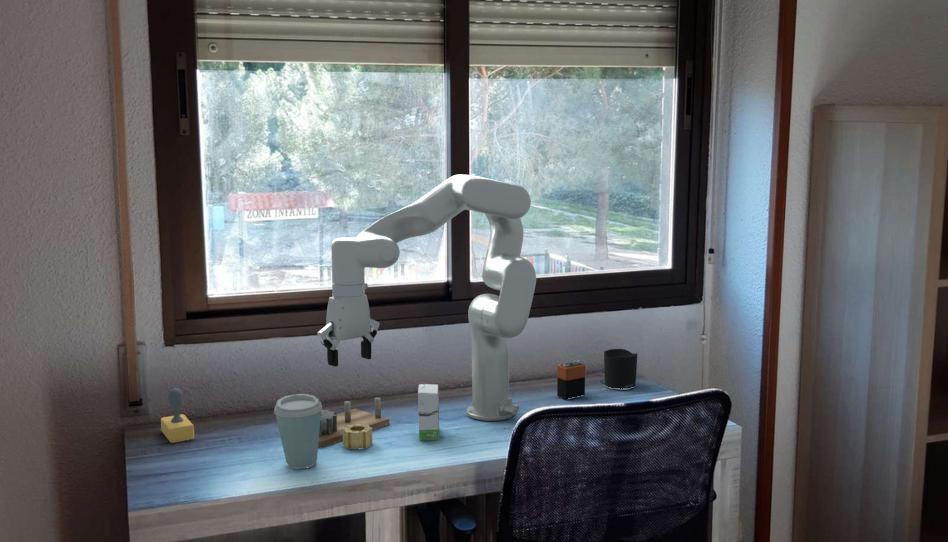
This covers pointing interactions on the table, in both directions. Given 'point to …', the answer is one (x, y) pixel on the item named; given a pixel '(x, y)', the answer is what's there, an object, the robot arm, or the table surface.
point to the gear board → (347, 422)
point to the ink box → (428, 412)
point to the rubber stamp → (177, 420)
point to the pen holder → (620, 368)
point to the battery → (571, 379)
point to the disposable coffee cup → (299, 428)
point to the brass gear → (357, 436)
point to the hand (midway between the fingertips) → (349, 361)
